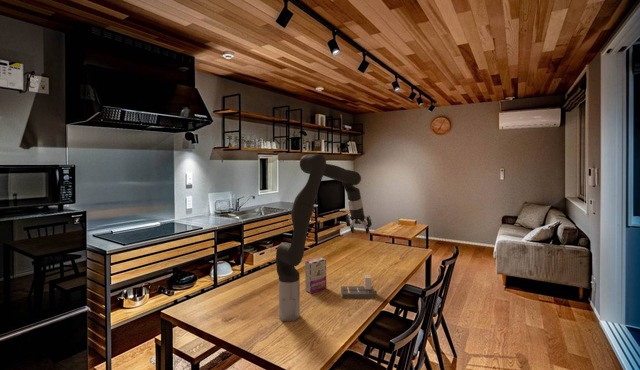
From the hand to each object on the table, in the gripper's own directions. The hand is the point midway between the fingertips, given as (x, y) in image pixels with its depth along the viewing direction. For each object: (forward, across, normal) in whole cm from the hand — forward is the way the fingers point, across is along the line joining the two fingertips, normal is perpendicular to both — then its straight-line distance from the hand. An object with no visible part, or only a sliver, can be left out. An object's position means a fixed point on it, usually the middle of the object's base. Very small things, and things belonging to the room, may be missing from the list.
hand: (360, 233), depth 187 cm
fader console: (+24, +3, -23) cm, 33 cm away
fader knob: (+22, +8, -20) cm, 31 cm away
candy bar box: (+21, -19, -28) cm, 40 cm away
